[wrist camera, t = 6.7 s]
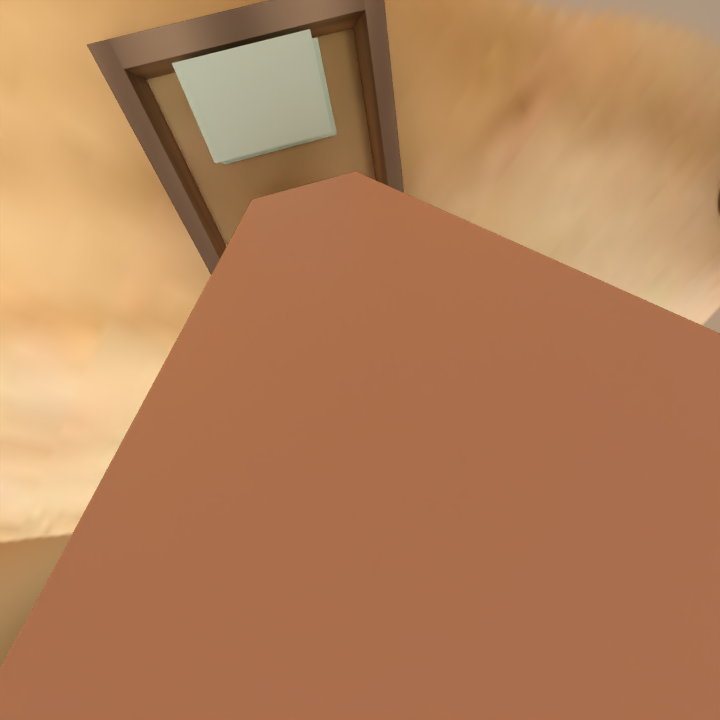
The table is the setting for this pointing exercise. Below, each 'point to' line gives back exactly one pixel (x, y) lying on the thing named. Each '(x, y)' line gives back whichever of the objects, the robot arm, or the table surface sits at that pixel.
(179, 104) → the table surface
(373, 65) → the frame
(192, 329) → the tall pink block
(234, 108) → the pale green block
